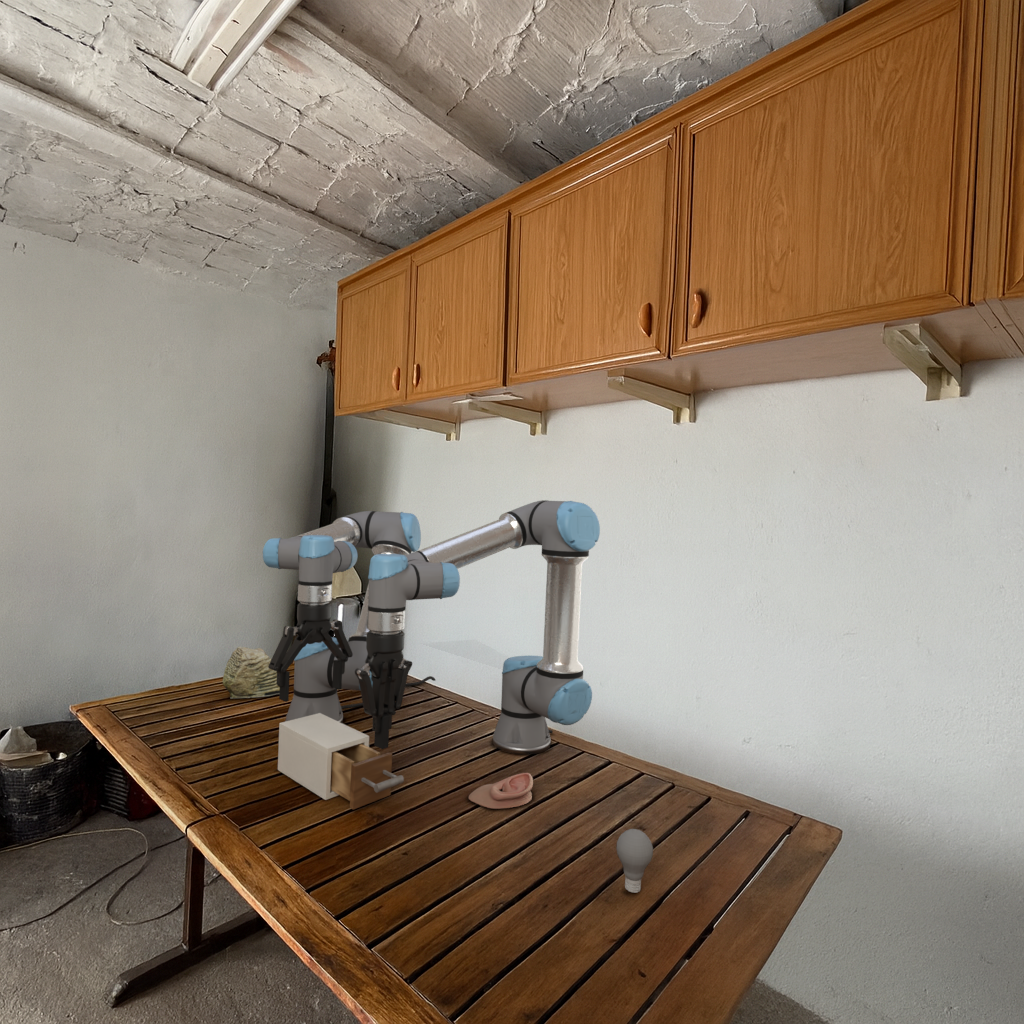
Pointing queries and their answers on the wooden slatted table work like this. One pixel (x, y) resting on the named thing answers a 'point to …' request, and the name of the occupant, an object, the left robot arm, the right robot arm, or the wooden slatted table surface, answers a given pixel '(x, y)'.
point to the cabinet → (314, 750)
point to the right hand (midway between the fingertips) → (381, 746)
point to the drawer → (362, 775)
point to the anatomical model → (504, 792)
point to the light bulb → (634, 857)
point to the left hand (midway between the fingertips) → (311, 694)
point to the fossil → (250, 674)
